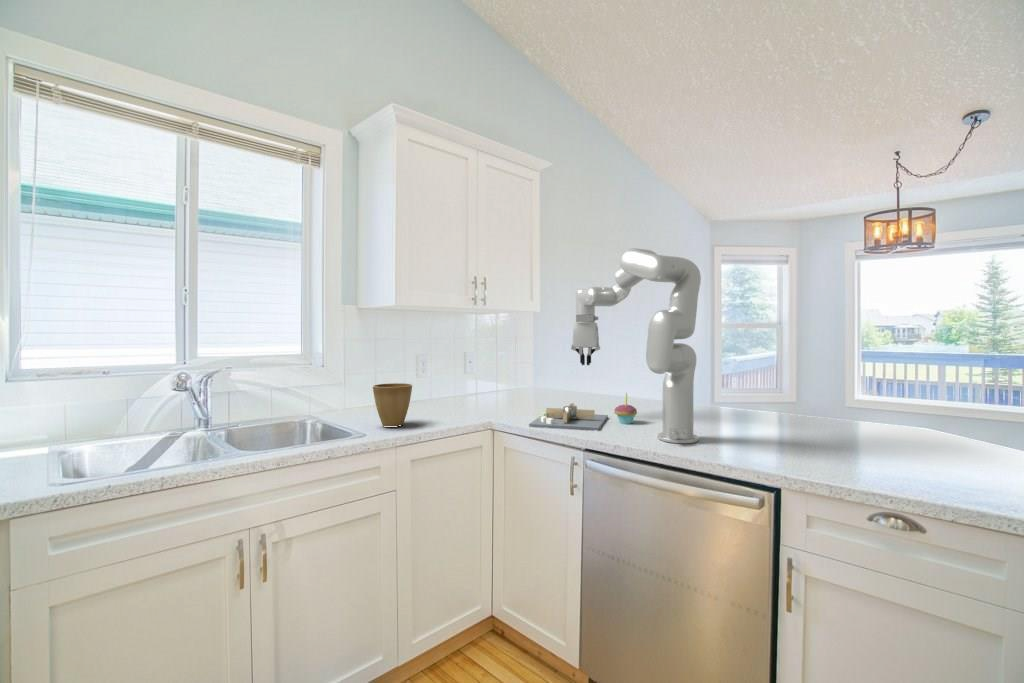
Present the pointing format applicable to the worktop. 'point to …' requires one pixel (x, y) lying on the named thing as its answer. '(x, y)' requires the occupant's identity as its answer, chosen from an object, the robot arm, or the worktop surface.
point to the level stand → (569, 422)
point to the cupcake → (625, 412)
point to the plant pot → (392, 402)
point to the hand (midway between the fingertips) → (585, 364)
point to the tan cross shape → (570, 413)
